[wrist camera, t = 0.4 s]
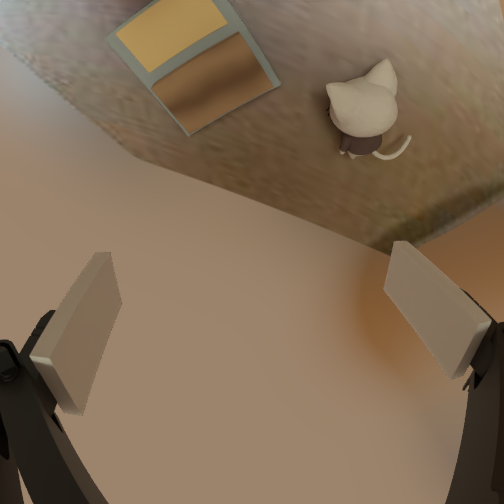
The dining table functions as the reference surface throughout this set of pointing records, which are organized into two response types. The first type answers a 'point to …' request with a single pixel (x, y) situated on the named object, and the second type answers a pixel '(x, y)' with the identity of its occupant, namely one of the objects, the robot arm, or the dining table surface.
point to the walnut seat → (212, 83)
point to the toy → (365, 110)
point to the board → (178, 39)
